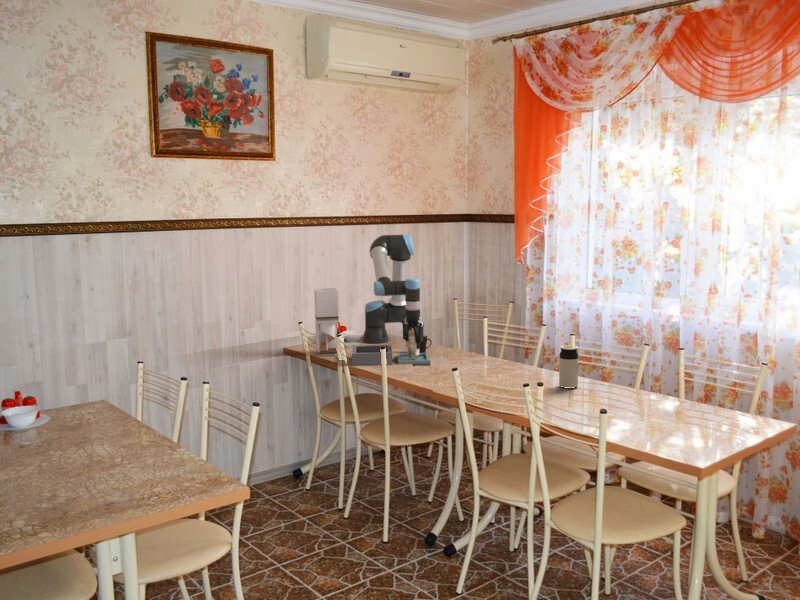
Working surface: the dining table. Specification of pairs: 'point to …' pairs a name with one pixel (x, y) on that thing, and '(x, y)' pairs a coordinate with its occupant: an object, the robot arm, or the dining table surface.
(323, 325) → the white coffee grinder
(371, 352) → the grey open bin
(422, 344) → the coffee mug
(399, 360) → the tray
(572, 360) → the travel mug
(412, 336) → the dowel pin
